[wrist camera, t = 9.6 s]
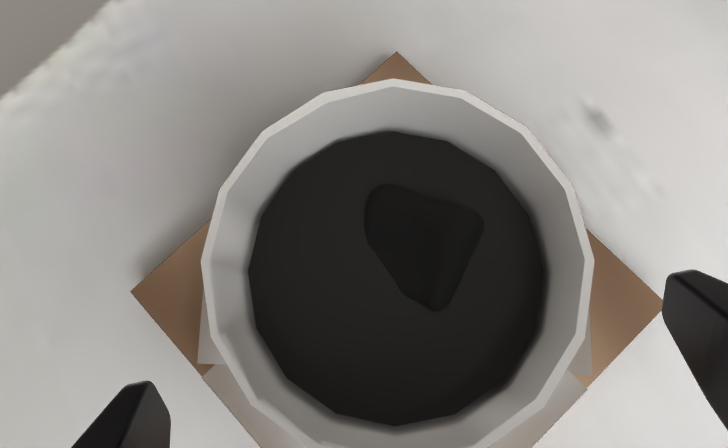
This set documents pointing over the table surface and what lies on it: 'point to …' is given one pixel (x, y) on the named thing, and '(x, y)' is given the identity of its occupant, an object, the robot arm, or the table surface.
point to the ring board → (192, 337)
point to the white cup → (397, 270)
